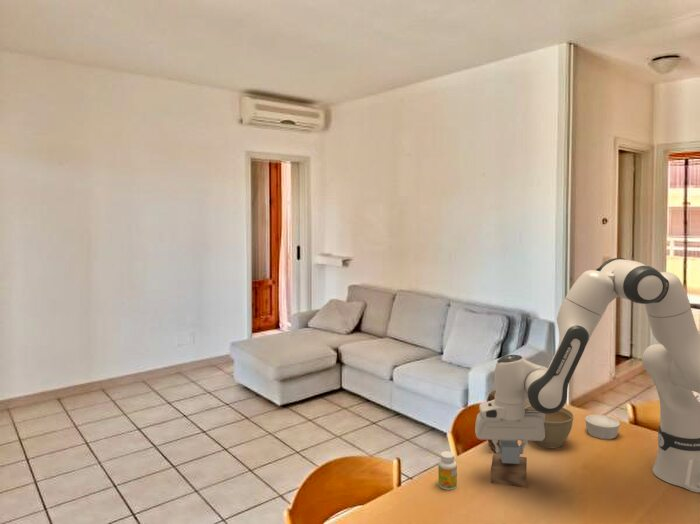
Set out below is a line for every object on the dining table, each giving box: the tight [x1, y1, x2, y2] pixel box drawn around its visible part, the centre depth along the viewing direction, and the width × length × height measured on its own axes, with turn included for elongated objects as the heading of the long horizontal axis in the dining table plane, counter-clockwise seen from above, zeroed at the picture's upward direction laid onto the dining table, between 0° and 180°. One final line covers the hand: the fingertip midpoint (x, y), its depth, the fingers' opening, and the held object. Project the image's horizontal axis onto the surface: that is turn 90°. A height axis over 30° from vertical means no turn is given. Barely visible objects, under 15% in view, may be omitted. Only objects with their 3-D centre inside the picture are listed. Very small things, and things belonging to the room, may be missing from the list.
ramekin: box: [584, 414, 621, 440], centre depth 185 cm, size 11×11×5 cm
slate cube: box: [500, 440, 521, 464], centre depth 156 cm, size 5×5×5 cm
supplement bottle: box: [437, 450, 458, 491], centre depth 153 cm, size 5×5×10 cm
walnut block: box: [490, 452, 528, 489], centre depth 157 cm, size 10×10×5 cm
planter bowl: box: [525, 404, 575, 449], centre depth 179 cm, size 16×16×11 cm
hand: (509, 452), depth 156 cm, fingers closed on slate cube, 5 cm apart
